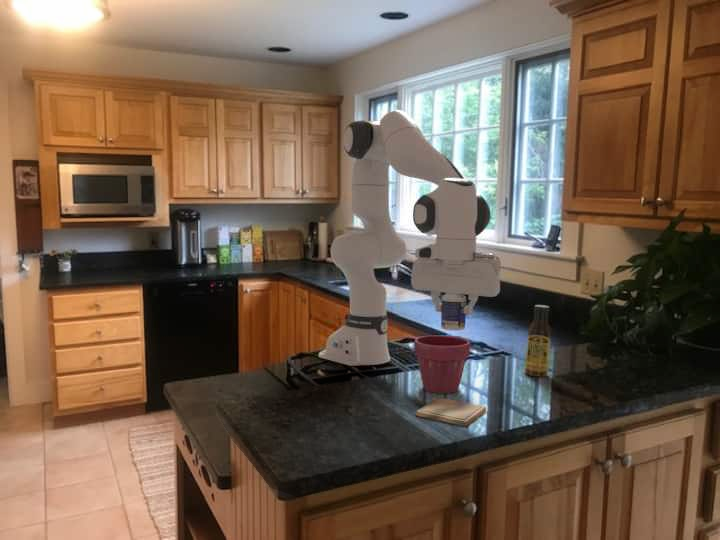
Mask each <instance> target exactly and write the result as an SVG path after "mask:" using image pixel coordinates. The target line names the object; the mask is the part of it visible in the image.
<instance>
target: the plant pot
mask: <svg viewBox="0 0 720 540" xmlns="http://www.w3.org/2000/svg"><path fill="white" fill-rule="evenodd" d="M470 349H471V342H470V341H469V340H468V339H466V338H462V337H459V336H458V337H457V336H452V335H451V336H449V335H437V334H434V335H432V334H431V335H422V336H417V337H416V338H415V339H414V348H413V353H414V355H415V356H416V357H417V361H418V367H419V372H420V377H421V382H422V388H423V390H425V391H427V392H430V393H434V394H452V393H451V392H454V393H456V392H458V391H459V387H460V386H461V384H460V383H461V381H462V376H463V373H464V368H465V364H466V360H467V358H469V357H470V354H471V353H470V352H471V351H470ZM457 390H458V391H457Z"/></svg>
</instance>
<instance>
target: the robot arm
mask: <svg viewBox="0 0 720 540" xmlns="http://www.w3.org/2000/svg"><path fill="white" fill-rule="evenodd" d="M343 146H344V151H345V152H346V154H347V155H348V156H349V157H350V158H353V159H354V162H353V168H352V173H351V174H352V175H351V208H350V209H351V212H352V214H353V215H354V216H355V217H356V218H358V219H359V220H360V222H361V223H362V225H363V228H364V232H348V233H345V234H340V235H339V236H336V237H335V238H334V239H333V241H332V243H331V246H330V257H331V260H332V262H333V263H334V264H335V266H336V267H337V268H338V269H340V271H341V272H342V273H343V275H344V276H345V277H344V278H345V279H346V281H347V284H348V288H349V289H348V290H349V313H346V315H342V316H341V317H342V319H341V320H343V321H345V322H344V325H342V326H341V327H339V328H338V329H337V330H336V331H334V332H333V333H332V334H331V335H330V336H328V337H327V341H326V344H325V345H326V346H325V349H323V350H321V351H320V352H318V358H319V359H324V360H327V361H328V360H329V361H331V362H334V363H335V362H336V363H339V364H343V365H347V366H350V367H351V366H352V367H353V366H373V365H374V366H375V365H382V364H385V363H388V362H390V361H391V356H390V353H389V347H388V338H387V332H388V314H387V289H386V286H384V284H382V283H380V282H379V281H378V280H377V278H376V276H375V271H374V269H383V268H384V269H385V268H390V267H393V266H396V265H398V264H401V263H402V262H403V261H404V260H405V257H406V253H407V245H406V242H405V240H404V239H403V237H402V236H401V235H399V233H398V232H397V231H396V229H395V227H394V224H393V222H392V219H391V216H390V215H391V214H390V209H389V208H390V206H389V205H390V204H389V203H390V202H389V200H390V199H389V198H390V197H389V194H390V193H389V191H390V190H389V188H390V187H389V186H390V185H389V184H390V183H389V182H390V181H389V177H390V176H389V169H390V166H391V167H392V169H393V170H394V171H395V172H397V173H398V174H400V175H401V176H405V177H408V178H412V179H413V178H414V179H418V180H421V181H426V182H430V183H432V184H434V185H436V186H438V187H436V188H435V189H434V190H432V191H431V192H429V193H427V194H423V195H421V196H420V197H419V198H418V199H417V200H416V202H415V203H414V205H413V211H412V220H413V225H414V226H415V227H416V228H417V230H418V231H419V232H420V233H422V234H424V235H425V234H426V235H431V236H435V235H436V237H435V243H432V244H429V245H425V246H423V247H419V248H416V249H415V252H414V257H415V258H416V259H415V260H414V262H413V264H412V269H411V278H410V283H411V286H412V288H413V290H416V291H417V290H418V291H425V292H430V297H431V300H432V301H433V303H434V304H435V305H434V306H435V307H434V308H435V310H434V311H435V312H438V313H442V300H441V299H440V296H441V293H445V294H446V293H448V292H447V286H450V287H455V293H456V294H462V295H467V296H468V297H467V298H468V300H469V303H468V305H466V306H465V307H463V310H464V312H463V314H464V315H466V316H471V315H473V309H474V306H475V304H476V303H477V301H478V300H479V297H489V298H493V297H496V296H498V294H500V292H501V279H500V272H501V259H500V258H499V257H498V256H496V255H495V254H494V253H483V252H477V251H476V250H477V236H480V234H481V233H482V232H483V231H485V229H486V228H487V227H488V225H489V223H490V221H491V209H490V206H489V204H488V202H487V201H486V199H485V198H484V197H483V195H481V194H479V192H477V188H476V185H475V183H474V182H473V181H472V180H470V179H466V178H465V177H464V176H463V175H462V174H461V172H460V171H459V170H458V169H457V167H456V166H455V165H454V163H452V161H451V160H450V159H449V158H448V157H447V156H445V154H443V153H441V152H440V151H439V150H437V149H436V148H435V146H433V145H432V144H431V143H430V142H429V141H428V140H427V138H426V137H425V136H424V134H423V132H422V130H421V129H420V127H419V126H418V124H417V123H416V122H415V120H414V119H413V118H412V117H411V116H409V114H408V113H406V112H405V111H402V110H391V111H389V112H387V113H386V114H385V115H383V117H381V119H380V120H366V121H365V120H363V119H362V120H355V121H353V122H349V124H348V125H347V126H346V128H345V130H344V136H343Z"/></svg>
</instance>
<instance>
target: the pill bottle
mask: <svg viewBox="0 0 720 540" xmlns="http://www.w3.org/2000/svg"><path fill="white" fill-rule="evenodd" d="M447 292H448V293H445V294H444V295H442V297H441V303H442V312H440V313H441V314H440V315H441V317H440V321H441V325H440V327H441V329H443V330H447V331H463V330H465V328H466V316H467V315H464V314H463V312H464V310H463V307H465V306H467V298H466V296H465V294H456V293H455V287H450V286H447Z"/></svg>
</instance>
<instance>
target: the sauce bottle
mask: <svg viewBox="0 0 720 540" xmlns="http://www.w3.org/2000/svg"><path fill="white" fill-rule="evenodd" d="M533 308H534V309H533V311H534V316H533V321H532V323H530V325H529V327H528V336H527V340H526V341H527V344H526V354H525V366H524V367H525V370H524V372H525V374H526V375H529V376H531V377H539V378H540V377H541V378H544V377H546V376H547V375H548V371H549V361H550V360H549V359H550V351H551V350H550V349H551V334H552V328H551V327H550V324H549V313H550V306H548V305H544V304H535V305H534V307H533Z"/></svg>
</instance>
